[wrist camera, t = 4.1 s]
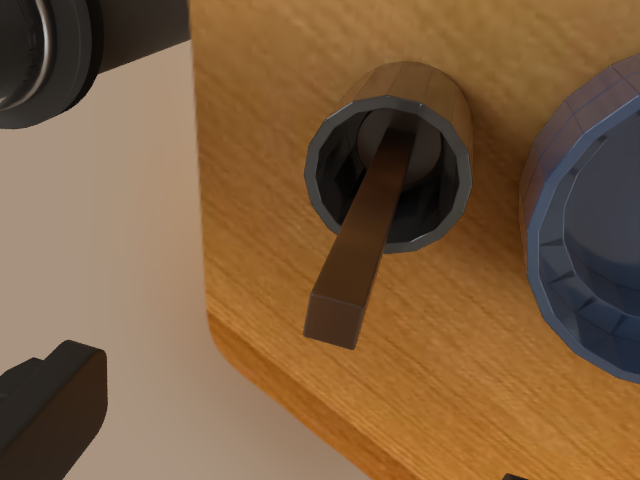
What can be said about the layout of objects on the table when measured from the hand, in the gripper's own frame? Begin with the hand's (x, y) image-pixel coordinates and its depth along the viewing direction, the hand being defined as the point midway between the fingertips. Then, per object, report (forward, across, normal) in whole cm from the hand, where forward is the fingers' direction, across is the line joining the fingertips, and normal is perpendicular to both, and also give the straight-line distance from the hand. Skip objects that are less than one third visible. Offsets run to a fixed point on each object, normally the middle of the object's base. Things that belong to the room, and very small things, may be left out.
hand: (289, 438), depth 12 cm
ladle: (+20, 0, 0) cm, 20 cm away
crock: (+21, 0, 0) cm, 21 cm away
